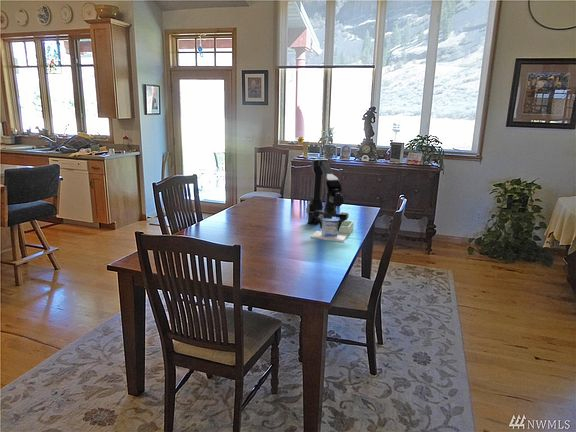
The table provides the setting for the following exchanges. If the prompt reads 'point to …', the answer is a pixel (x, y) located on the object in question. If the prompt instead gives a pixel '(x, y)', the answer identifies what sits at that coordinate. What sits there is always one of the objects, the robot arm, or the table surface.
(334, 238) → the tray
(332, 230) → the medicine box
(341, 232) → the sage bin
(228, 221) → the table surface
